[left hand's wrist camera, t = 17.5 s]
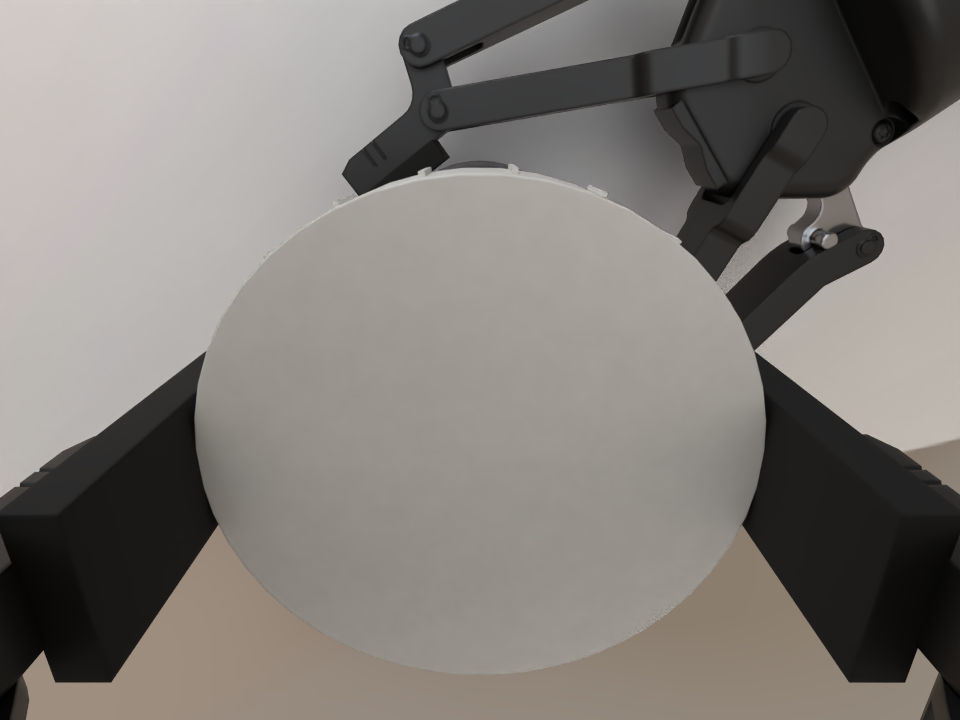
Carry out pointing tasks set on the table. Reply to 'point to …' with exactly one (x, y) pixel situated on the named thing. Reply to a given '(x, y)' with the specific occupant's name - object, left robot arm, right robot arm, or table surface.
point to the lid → (480, 422)
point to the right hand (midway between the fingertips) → (387, 362)
